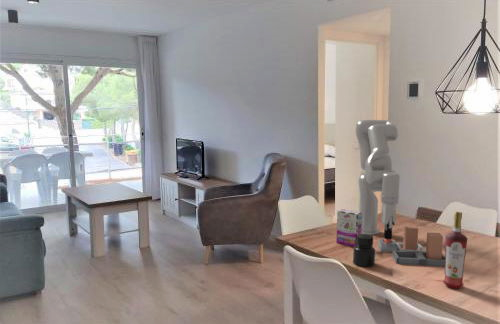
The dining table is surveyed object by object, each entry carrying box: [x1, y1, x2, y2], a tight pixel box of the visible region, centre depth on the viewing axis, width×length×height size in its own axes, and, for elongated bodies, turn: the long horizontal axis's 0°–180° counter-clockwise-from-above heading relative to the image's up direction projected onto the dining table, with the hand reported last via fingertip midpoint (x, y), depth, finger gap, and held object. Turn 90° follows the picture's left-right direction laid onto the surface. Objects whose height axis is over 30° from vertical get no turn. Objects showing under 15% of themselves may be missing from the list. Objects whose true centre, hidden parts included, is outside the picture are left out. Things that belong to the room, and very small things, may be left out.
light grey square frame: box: [396, 242, 426, 252], centre depth 196 cm, size 11×11×2 cm
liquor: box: [442, 211, 469, 290], centre depth 156 cm, size 7×7×28 cm
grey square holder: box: [378, 238, 398, 254], centre depth 197 cm, size 7×7×4 cm
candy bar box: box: [336, 209, 362, 248], centre depth 205 cm, size 11×5×16 cm, turn 47°
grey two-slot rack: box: [391, 250, 445, 267], centre depth 182 cm, size 21×10×3 cm, turn 82°
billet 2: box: [425, 231, 444, 260], centre depth 180 cm, size 5×5×12 cm
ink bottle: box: [352, 234, 376, 268], centre depth 180 cm, size 10×9×12 cm
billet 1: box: [402, 224, 419, 250], centre depth 195 cm, size 5×5×12 cm
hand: (387, 238), depth 197 cm, fingers closed
